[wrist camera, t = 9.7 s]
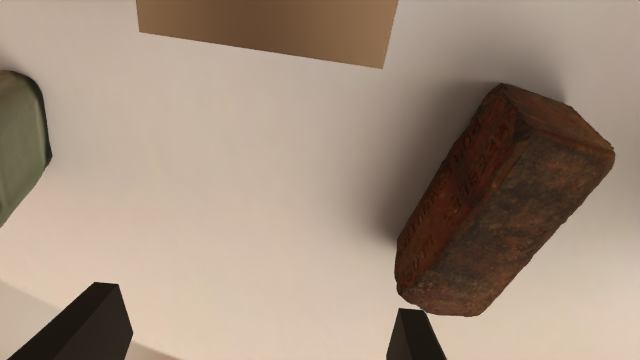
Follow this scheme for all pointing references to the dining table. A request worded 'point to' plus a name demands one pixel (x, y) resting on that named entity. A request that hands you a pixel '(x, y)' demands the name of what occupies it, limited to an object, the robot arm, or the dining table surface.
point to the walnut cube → (279, 26)
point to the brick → (497, 201)
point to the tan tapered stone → (20, 140)
